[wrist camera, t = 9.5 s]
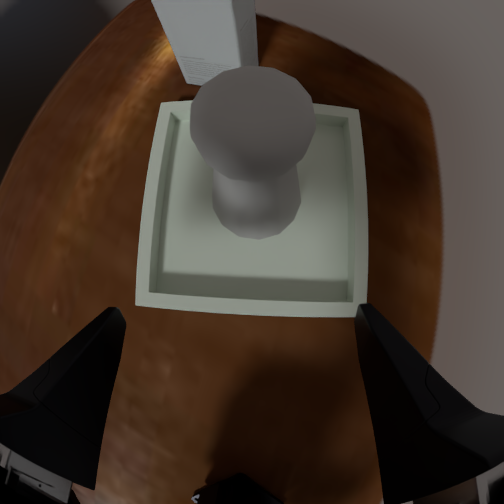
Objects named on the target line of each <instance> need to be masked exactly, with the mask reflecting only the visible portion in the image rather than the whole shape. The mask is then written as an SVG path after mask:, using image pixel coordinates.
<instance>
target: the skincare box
mask: <svg viewBox="0 0 504 504" xmlns="http://www.w3.org/2000/svg"><path fill="white" fill-rule="evenodd" d="M151 1H152V3H153V6H154V8H155V10H156V12H157V15H158V17H159V19H160V22H161V24H162V26H163V29H164V31H165V33H166V36H167V38H168V40H169V43H170V45H171V47H172V50H173V52H174V54H175V57H176V59H177V61H178V64H179V66H180V68H181V71H182V73H183V75H184V78H185V80H186V82H187V83H188V84H195V85H201V86H202V85H203V84H205V83H206V82H208V81H209V80H211V79H212V78H214V77H215V76H217V75H218V74H220V73H221V72H223V71H227V70H230V69H234V68H239V67H243V66H247V65H250V66H258V49H257V30H256V14H255V0H151Z"/></svg>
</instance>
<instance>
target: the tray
mask: <svg viewBox="0 0 504 504" xmlns="http://www.w3.org/2000/svg"><path fill="white" fill-rule="evenodd" d="M192 102H193V100H192V101H177V102H165V103H161V106H160V111H159V115H158V119H157V124H156V129H155V134H154V139H153V144H152V149H151V155H150V160H149V166H148V173H147V179H146V186H145V193H144V200H143V208H142V217H141V226H140V236H139V247H138V261H137V277H136V304H135V305H138V306H147V307H156V308H166V309H176V310H187V311H199V312H212V313H226V314H243V315H264V316H292V317H355V316H356V312H357V308H358V305H359V304H362V303H367V282H368V208H367V187H366V172H365V160H364V150H363V140H362V132H361V124H360V116H359V110H358V109H352V108H345V107H339V106H331V105H323V104H314V103H313V108H314V113H315V117H316V129H315V132H314V135H313V137H312V140H311V142H310V145H309V147H308V150H307V152H306V154H305V156H304V157H303V159H302V160H301V161H299V162H298V163H297V164H296V166H297V173H298V180H299V188H300V196H301V204H300V207H299V209H298V212H297V214H296V216H295V219H294V221H293V222H292V223H291V224H290V225H288V226H287V227H286V228H285V229H284V230H283V231H282V232H281V233H280V234H278V235H274V236H271V237H267V238H264V239H260V240H258V239H251V238H244V237H239V236H237V235H236V234H234V233H233V232H231V231H230V230H228V229H227V228H226V227H224V226H223V225H222V224H221V222H220V220H219V219H218V217H217V215H216V213H215V211H214V210H213V203H212V184H213V168H212V167H210V166H208V165H207V164H206V162H205V160H204V159H203V157H202V155H201V154H200V152H199V150H198V148H197V147H196V145H195V143H194V142H193V140H192V138H191V135H190V111H191V103H192Z"/></svg>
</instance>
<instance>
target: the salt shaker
mask: <svg viewBox="0 0 504 504" xmlns="http://www.w3.org/2000/svg"><path fill="white" fill-rule="evenodd" d="M315 129H316V117H315V113H314V108H313V103H312V99H311V96H310V95H309V94H308V92H307V91H306V90H305V89H304V88H303V86H302V85H301V84H300V83H299V82H298V80H297V79H295V78H293V77H291V76H289V75H287V74H285V73H283V72H281V71H279V70H277V69H274V68H268V67H260V66H250V65H247V66H243V67H239V68H234V69H230V70H227V71H223V72H221V73H220V74H218V75H217V76H215V77H214V78H212V79H211V80H209V81H208V82H206V83H205V84H203V85H202V87H201V88H200V90H199V92H198V93H197V95H196V97H195V98H194V100H193V102H192V103H191V111H190V135H191V138H192V140H193V142H194V143H195V145H196V147H197V148H198V150H199V152H200V154H201V155H202V157H203V159H204V160H205V162H206V164H207V165H208V166H210V167H212V168H213V184H212V203H213V210H214V211H215V213H216V215H217V217H218V219H219V220H220V222H221V224H222V225H223V226H224V227H226V228H227V229H228V230H230V231H231V232H233V233H234V234H236V235H237V236H239V237H244V238H251V239H258V240H260V239H264V238H267V237H271V236H274V235H278V234H280V233H281V232H282V231H283V230H284V229H285V228H286V227H287V226H288V225H290V224H291V223H292V222H293V221H294V219H295V216H296V214H297V212H298V209H299V207H300V204H301V196H300V188H299V180H298V173H297V166H296V164H297V163H298V162H299V161H301V160H302V159H303V157H304V156H305V154H306V152H307V150H308V147H309V145H310V142H311V140H312V137H313V135H314V132H315Z"/></svg>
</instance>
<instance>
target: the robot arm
mask: <svg viewBox="0 0 504 504" xmlns="http://www.w3.org/2000/svg"><path fill="white" fill-rule="evenodd" d="M354 325H355V333H356V340H357V348H358V356H359V363H360V368H361V372H362V376H363V381H364V385H365V390H366V395H367V399H368V404H369V409H370V414H371V420H372V425H373V430H374V436H375V442H376V448H377V454H378V460H379V468H380V475H381V483H382V491H383V500H384V504H401V503H405V502H409V501H413V504H504V416H501V415H497V414H491V413H487V412H484V411H482V410H480V409H478V408H476V407H475V406H474V405H473V404H472V403H471V402H470V401H468V400H467V399H466V398H465V397H464V396H463V395H461V394H460V393H459V392H458V391H457V390H456V389H455V388H453V386H451V385H450V384H449V383H448V382H447V381H446V380H445V379H444V378H443V377H442V376H441V375H440V374H439V373H438V372H437V371H436V370H435V369H434V368H433V367H432V366H431V365H430V364H429V363H428V362H427V360H426V359H425V358H424V357H423V356H422V355H421V354H420V353H419V352H418V351H417V350H416V349H415V348H414V347H413V346H412V345H411V344H410V343H409V342H408V341H407V340H406V339H405V338H404V337H403V336H402V335H401V334H400V332H399V331H398V330H397V329H396V328H395V327H394V326H393V325H392V324H391V323H390V322H389V321H388V320H387V319H386V318H385V317H384V316H383V315H382V314H381V313H380V312H379V311H378V310H377V309H376V308H374V307H373V306H372V305H371V304H370V303H362V304H359V305H358V308H357V312H356V316H355V321H354ZM125 330H126V321H125V319H124V317H123V315H122V313H121V311H120V309H119V308H118V307H108V308H107V309H106V310H104V311H103V312H102V313H101V314H100V315H98V316H97V317H96V318H95V319H94V320H92V321H91V322H90V323H89V324H88V325H87V326H85V327H84V328H83V329H82V330H81V331H80V332H79V333H77V334H76V335H75V336H74V337H73V338H72V339H70V340H69V341H68V342H67V343H66V344H65V345H64V346H63V347H61V348H60V349H59V350H58V351H57V352H56V353H55V354H54V355H52V356H51V357H50V358H49V359H48V360H47V361H46V362H45V363H44V364H42V365H41V366H40V367H39V368H38V369H37V370H36V371H34V372H33V373H32V374H31V375H29V376H28V377H27V378H26V379H24V380H23V381H22V382H21V383H19V384H18V385H17V386H16V387H14V388H13V389H12V390H10V391H9V392H7V393H4V394H1V395H0V504H80V502H79V500H78V499H77V497H76V495H75V493H74V491H73V490H72V489H71V488H72V484H73V482H74V483H76V484H78V485H81V486H83V487H86V488H89V489H91V490H95V484H96V477H97V469H98V463H99V456H100V450H101V448H100V447H101V444H102V438H103V433H104V428H105V423H106V418H107V413H108V408H109V404H110V400H111V395H112V391H113V387H114V383H115V379H116V375H117V371H118V367H119V363H120V359H121V354H122V347H123V342H124V336H125ZM239 478H243V479H239ZM197 498H198V499H197ZM192 500H193V501H194V502H195V503H197V504H284V503H283V502H282V501H280V500H279V499H277V498H276V497H274V496H273V495H271V494H270V493H269V492H267V491H266V490H264V489H263V488H262V487H260V486H259V485H258V484H256V483H255V482H254V481H252V480H251V479H250V478H248V477H247V476H246V475H244V474H241V473H240V474H236V475H234V476H232V477H230V478H228V479H226V480H224V481H222V482H218V483H216V484H214V485H212V486H209V487H207V488H205V489H203V490H201V491H200V492H199V493H196V494H194V495H193V496H192Z"/></svg>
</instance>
